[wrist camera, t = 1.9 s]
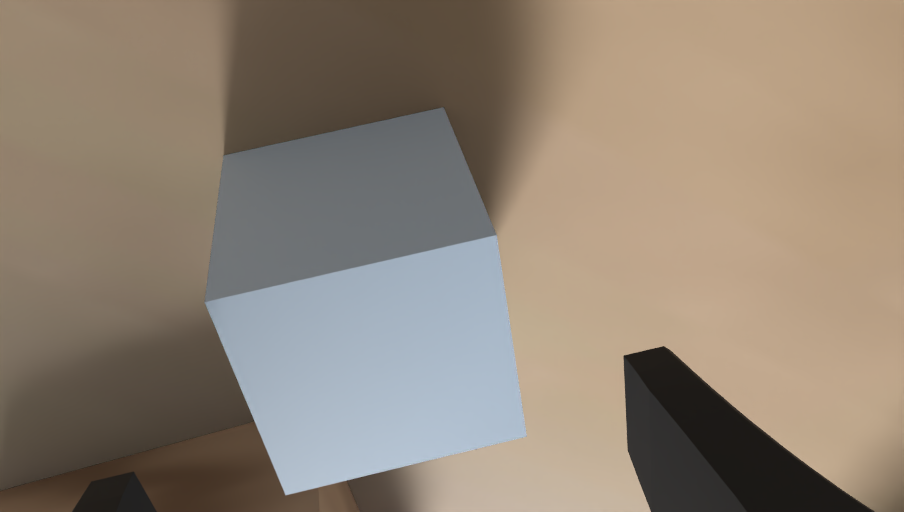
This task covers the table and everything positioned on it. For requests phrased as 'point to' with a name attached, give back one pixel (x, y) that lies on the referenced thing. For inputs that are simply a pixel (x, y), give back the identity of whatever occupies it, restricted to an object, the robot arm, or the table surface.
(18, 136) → the table surface
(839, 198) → the table surface
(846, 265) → the table surface
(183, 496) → the walnut block
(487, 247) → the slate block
